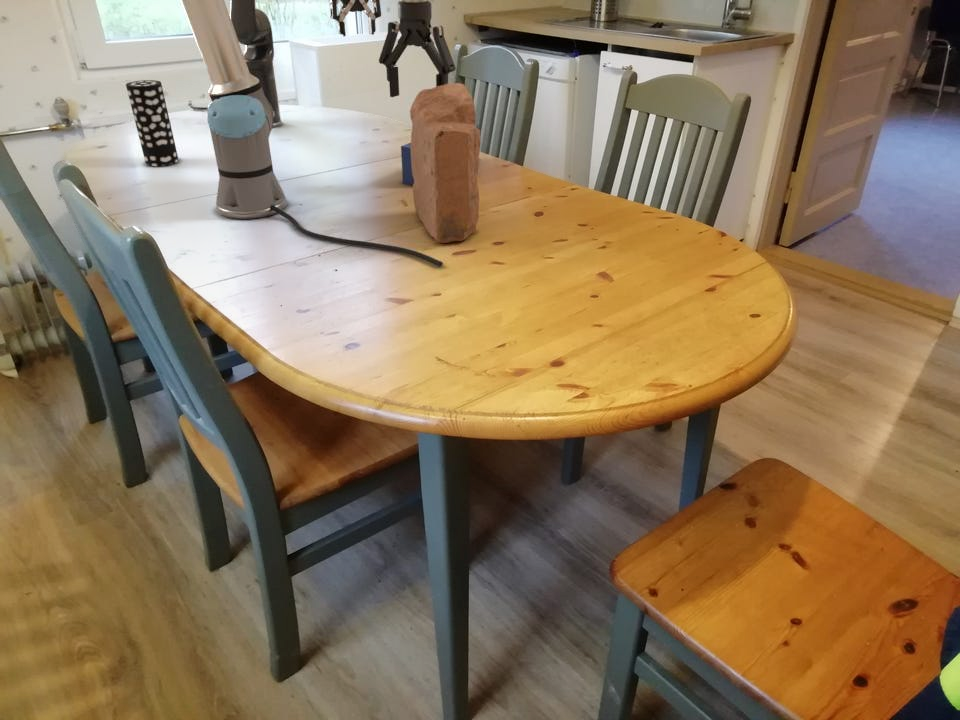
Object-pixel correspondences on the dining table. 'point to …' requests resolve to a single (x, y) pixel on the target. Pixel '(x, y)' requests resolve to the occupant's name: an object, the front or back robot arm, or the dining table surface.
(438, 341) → the dining table surface
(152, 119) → the black white spotted cylinder
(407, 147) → the bar
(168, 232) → the dining table surface
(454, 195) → the stone
